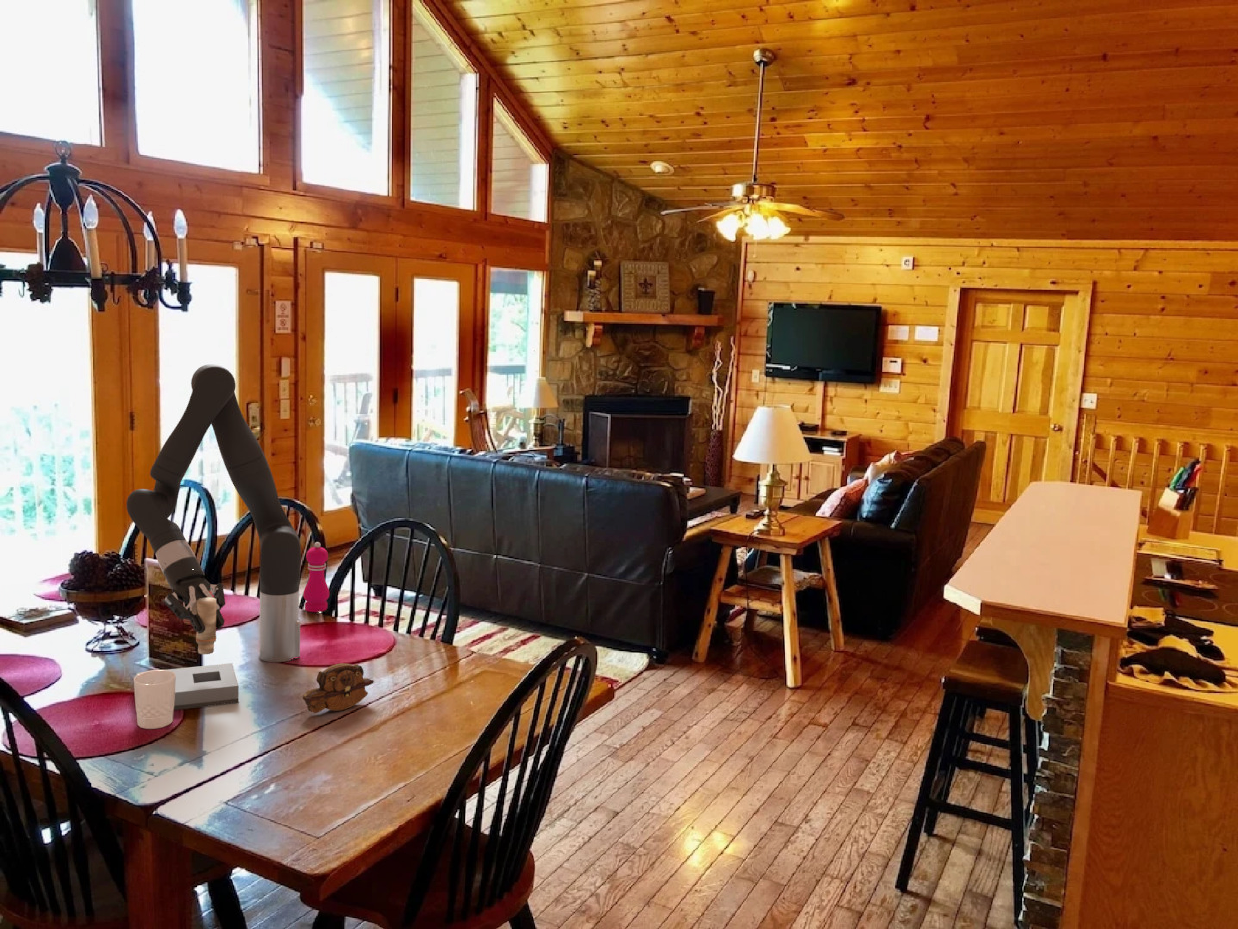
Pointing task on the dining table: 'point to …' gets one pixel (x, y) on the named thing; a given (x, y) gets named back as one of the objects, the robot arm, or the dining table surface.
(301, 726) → the dining table surface
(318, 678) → the wooden carving
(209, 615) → the birch peg
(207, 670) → the socket board
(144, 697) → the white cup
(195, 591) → the robot arm
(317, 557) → the pepper mill
